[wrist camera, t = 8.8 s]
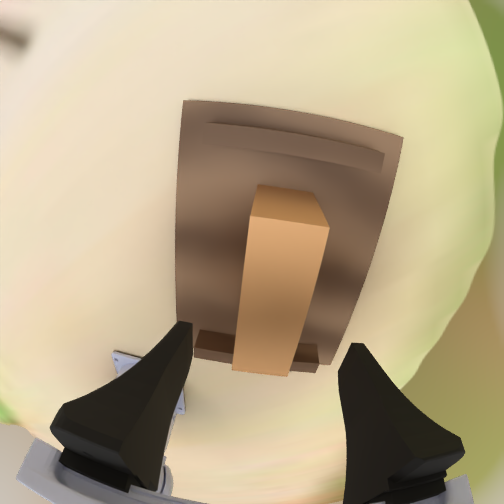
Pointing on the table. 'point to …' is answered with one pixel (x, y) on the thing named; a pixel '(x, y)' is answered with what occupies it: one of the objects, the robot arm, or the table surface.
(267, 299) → the tall tan cuboid
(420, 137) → the table surface
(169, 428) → the robot arm
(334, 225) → the walnut cradle
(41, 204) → the table surface
